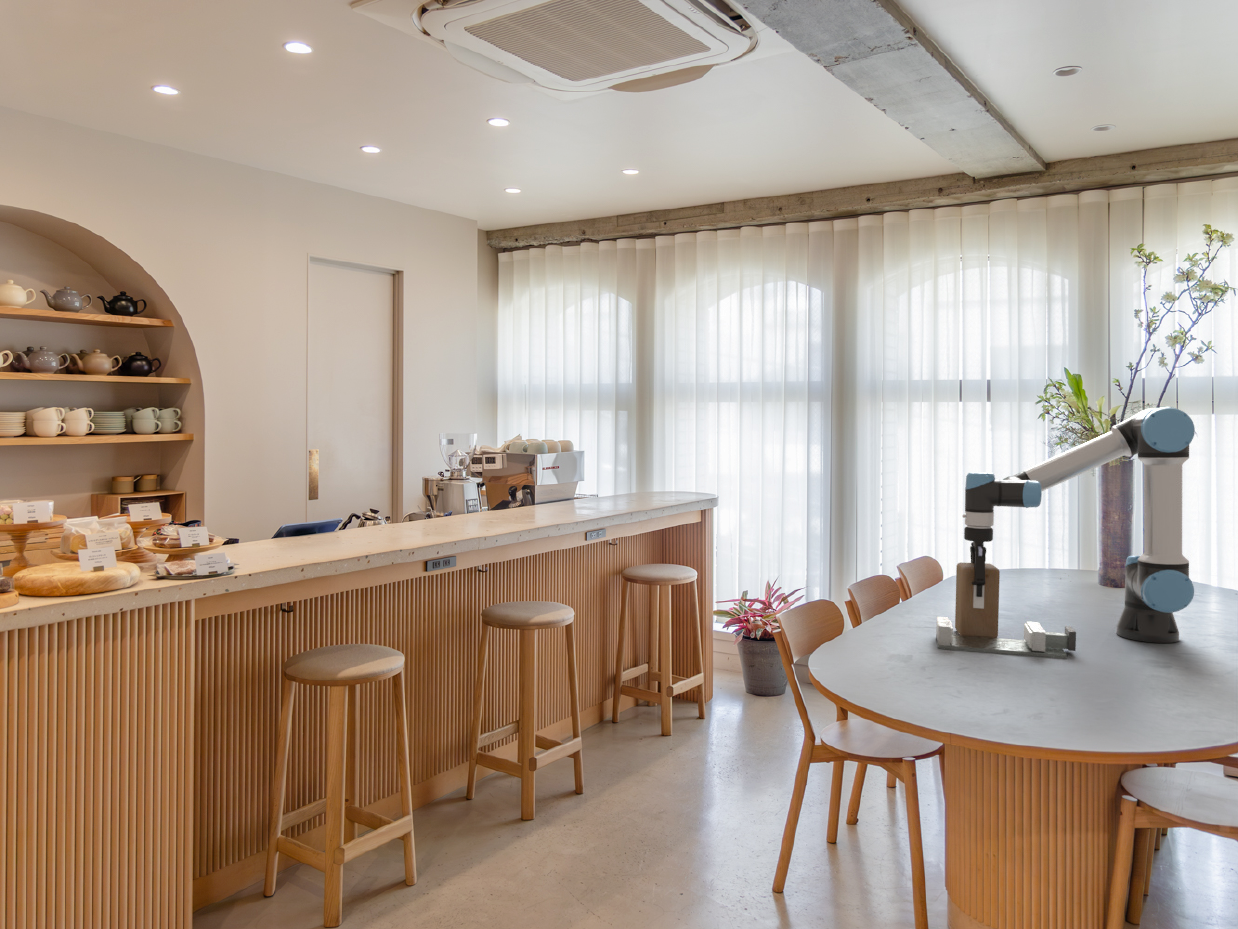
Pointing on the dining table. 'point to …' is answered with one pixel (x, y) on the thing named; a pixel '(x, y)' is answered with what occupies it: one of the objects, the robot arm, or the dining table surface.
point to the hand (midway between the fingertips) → (976, 604)
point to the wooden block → (965, 615)
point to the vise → (987, 643)
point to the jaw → (1048, 638)
